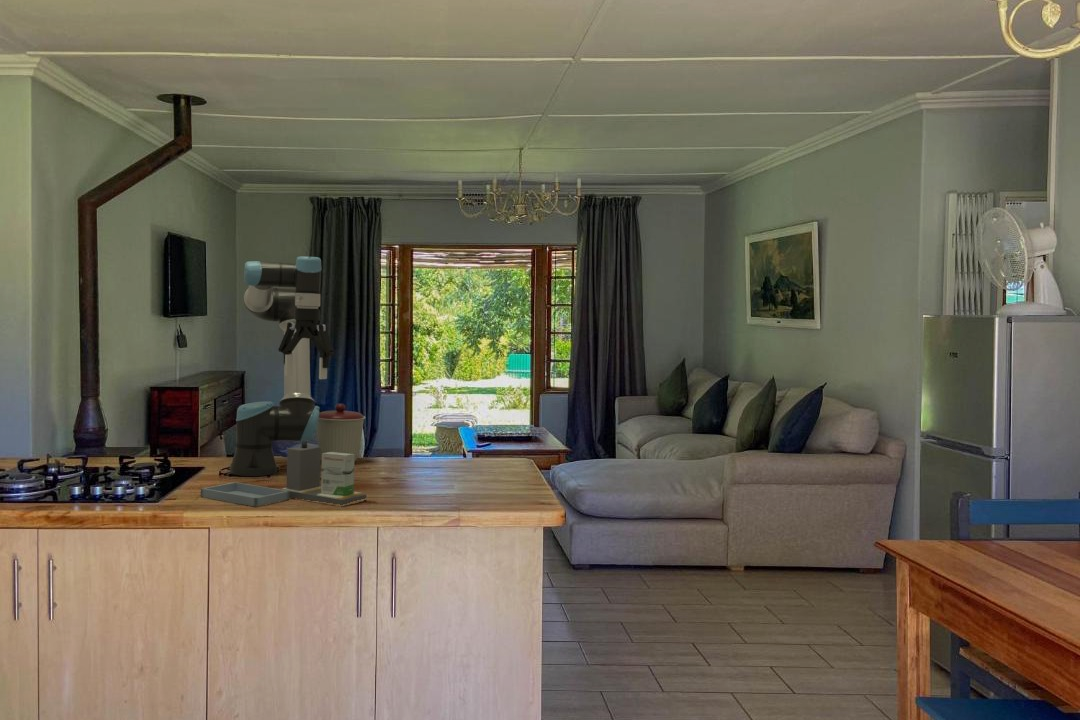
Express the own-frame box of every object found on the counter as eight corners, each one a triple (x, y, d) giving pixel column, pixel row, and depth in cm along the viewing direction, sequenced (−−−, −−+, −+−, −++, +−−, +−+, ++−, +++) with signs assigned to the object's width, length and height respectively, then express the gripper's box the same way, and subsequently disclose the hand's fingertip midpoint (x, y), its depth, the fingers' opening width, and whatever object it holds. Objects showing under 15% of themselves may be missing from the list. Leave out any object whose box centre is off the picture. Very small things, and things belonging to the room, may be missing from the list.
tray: (200, 497, 299) (200, 488, 299) (235, 490, 311) (235, 482, 311) (255, 507, 289) (256, 498, 289) (289, 499, 301) (289, 491, 300)
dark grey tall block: (286, 488, 305) (287, 442, 304) (306, 484, 313) (308, 438, 312) (299, 490, 302) (300, 443, 301) (319, 486, 310) (320, 440, 309)
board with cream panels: (278, 496, 305) (278, 488, 305) (303, 490, 315) (304, 483, 314) (342, 507, 293) (342, 499, 293) (366, 501, 303) (366, 493, 303)
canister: (339, 468, 356) (341, 407, 355) (302, 461, 366) (303, 402, 365) (374, 462, 371) (376, 404, 370) (338, 456, 381) (339, 399, 380)
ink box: (354, 493, 302) (355, 453, 301) (345, 496, 297) (346, 455, 296) (329, 490, 305) (330, 450, 304) (319, 493, 300) (321, 452, 300)
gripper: (267, 305, 315) (266, 374, 316) (331, 309, 303) (329, 381, 304) (285, 306, 321) (283, 373, 322) (347, 309, 309) (345, 379, 311)
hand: (305, 377), depth 313 cm, fingers open, 13 cm apart
